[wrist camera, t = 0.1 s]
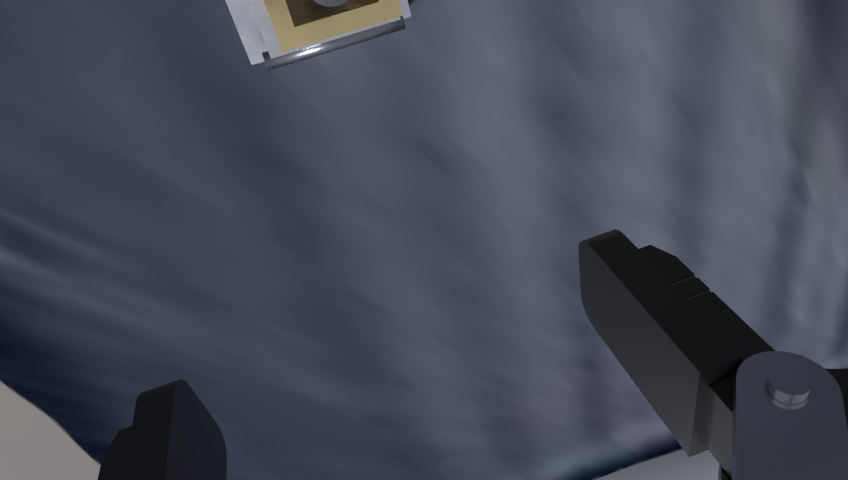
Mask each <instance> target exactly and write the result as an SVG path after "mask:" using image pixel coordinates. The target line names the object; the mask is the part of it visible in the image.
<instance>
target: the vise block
mask: <svg viewBox="0 0 848 480" xmlns="http://www.w3.org/2000/svg"><path fill="white" fill-rule="evenodd" d="M314 1H315V2H316V3H318V4H320V5H323V6H327V7H335V6H339V5H342V4H344V3H345V2H347V1H348V0H314ZM226 3H227V5H228V8H229V10H230V13H231V15H232V18H233V20H234V23H235V25H236V28H237V30H238V32H239V35H240V37H241V40H242V42H243V45H244V47H245V50H246V52H247V55H248V57H249V60H250V62H251V65H253V64H257V63H260V62H263V61H265V64H266V66H267V69H268V71H269V70H273V69H276V68H279V67H282V66H286V65H289V64H292V63H295V62H299V61H302V60H305V59H309V58H312V57H315V56H318V55H322V54H325V53H328V52H331V51H335V50H338V49H341V48H344V47H348V46H351V45H354V44H358V43H361V42H364V41H367V40H371V39H374V38H377V37H380V36H384V35H387V34H390V33H393V32H397V31H400V30H403V29H405V22H404V18H408V17H411V13H410V9H409V4H408V0H399V3H400V8H401V12H402V16H400V17H397V18H393V19H390V20H387V21H384V22H380V23H377V24H374V25H370V26H367V27H364V28H360V29H357V30H354V31H351V32H347V33H344V34H341V35H337V36H334V37H331V38H328V39H324V40H321V41H318V42H314V43H311V44H308V45H305V46H301V47H298V48H295V49H291V50H288V51H285V52H282V50H281V47H280V44H279V41H278V39H277V36H276V33H275V31H274V28H273V25H272V22H271V20H270V17H269V14H268V11H267V9H266V6H265V3H264V1H263V0H226Z"/></svg>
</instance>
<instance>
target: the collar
mask: <svg viewBox="0 0 848 480" xmlns="http://www.w3.org/2000/svg"><path fill="white" fill-rule="evenodd" d="M263 1H264V3H265V6H266V9H267V11H268V14H269V17H270V20H271V22H272V25H273V28H274V31H275V33H276V36H277V39H278V41H279V44H280V47H281V50H282V52H285V51H288V50H291V49H295V48H298V47H301V46H305V45H308V44H311V43H314V42H318V41H321V40H324V39H328V38H331V37H334V36H337V35H341V34H344V33H347V32H351V31H354V30H357V29H360V28H364V27H367V26H370V25H374V24H377V23H380V22H384V21H387V20H390V19H393V18H397V17H400V16H402V12H401V8H400V3H399V0H348V1H347V2H345V3H344V4H342V5H339V6H335V7H327V6H323V5H320V4H318V3H316V2H315V1H314V0H263Z"/></svg>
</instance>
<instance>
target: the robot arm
mask: <svg viewBox="0 0 848 480" xmlns="http://www.w3.org/2000/svg"><path fill="white" fill-rule="evenodd" d="M579 267H580V284H581V298H582V302H583V306H584V309H585V311H586V314H587V316H588V318H589V320H590V322H591V324H592V325H593V326H594V328H595V329H596V331H597V332H598V333H599V335H600V336H601V337H602V339H603V340H604V342H605V343H606V344H607V346H608V347H609V348H610V350H611V351H612V352H613V354H614V355H615V357H616V358H617V359H618V361H619V362H620V363H621V365H622V366H623V367H624V369H625V370H626V372H627V373H628V374H629V376H630V377H631V378H632V380H633V381H634V382H635V384H636V385H637V387H638V388H639V389H640V391H641V392H642V393H643V395H644V396H645V398H646V399H647V400H648V402H649V403H650V404H651V406H652V407H653V408H654V410H655V411H656V413H657V414H658V415H659V417H660V418H661V419H662V421H663V422H664V423H665V425H666V426H667V428H668V429H669V430H670V432H671V433H672V434H673V436H674V437H675V439H676V440H677V441H678V443H679V444H680V445H681V447H682V448H683V449H684V451H685V452H686V453H687V455H688V456H689V457H690V456H693V455H696V454H698V453H701V452H703V451H706V450H708V449H709V450H710V452H711V453H712V454H713V456H714V457H715V458H716V460H717V461H718V462H719V464H720V465H719V477H718V480H848V368H847V369H825V368H823V367H822V366H821V365H819V364H818V363H816V362H814V361H812V360H810V359H808V358H806V357H803V356H801V355H797V354H794V353H789V352H783V351H775V350H774V349H773V348H772V347H770V346H769V345H768V344H767V343H766V342H765V341H764V340H763V339H762V338H761V337H760V336H759V335H758V334H757V333H755V332H754V331H753V330H752V329H751V328H750V327H749V326H748V325H747V324H746V323H745V322H744V321H743V320H742V319H741V318H740V317H739V316H738V315H737V314H736V313H734V312H733V311H732V310H731V309H730V308H729V307H728V306H727V305H726V304H725V303H724V302H723V301H722V300H721V299H720V298H719V297H718V296H717V295H716V294H715V293H714V292H710V290H709V288H708V287H707V286H706V285H705V284H704V283H703V282H702V281H701V280H700V279H699V278H695V276H694V273H693V272H691V271H690V270H689V269H688V268H687V267H686V266H685V265H684V264H683V263H682V262H681V261H680V260H679V259H678V258H677V257H676V256H673V255H671V254H669V253H667V252H665V251H663V250H660V249H658V248H656V247H654V246H652V245H649V246H646V247H643V248H640V249H638V248H637V247H636V246H635V245H634V244H633V243H632V242H631V241H630V240H629V239H628V238H627V237H626V236H625V235H624V234H623V233H622V232H621V231H619V230H612V231H609V232H607V233H604V234H601V235H598V236H595V237H592V238H589V239H586V240H584V241H581V242H580V243H579ZM226 465H227V455H226V446H225V442H224V438H223V435H222V432H221V430H220V428H219V426H218V424H217V423H216V421H215V420H214V419H213V417H212V416H211V415H210V413H209V412H208V410H207V409H206V408H205V406H204V405H203V404H202V402H201V401H200V399H199V398H198V397H197V395H196V394H195V393H194V391H193V390H192V388H191V387H190V386H189V384H188V383H187V382H186V381H184V380H182V379H180V380H177V381H174V382H171V383H168V384H165V385H162V386H159V387H157V388H154V389H151V390H148V391H145V392H142V393H141V394H139V396H138V398H137V401H136V406H135V412H134V418H133V423H132V426H130V427H128V428H125V429H122V430H119V431H118V433H117V434H116V436H115V438H114V440H113V441H112V443H111V445H110V446H109V448H108V450H107V452H106V453H105V455H104V457H103V458H102V462H101V467H100V472H99V477H98V480H226Z"/></svg>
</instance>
